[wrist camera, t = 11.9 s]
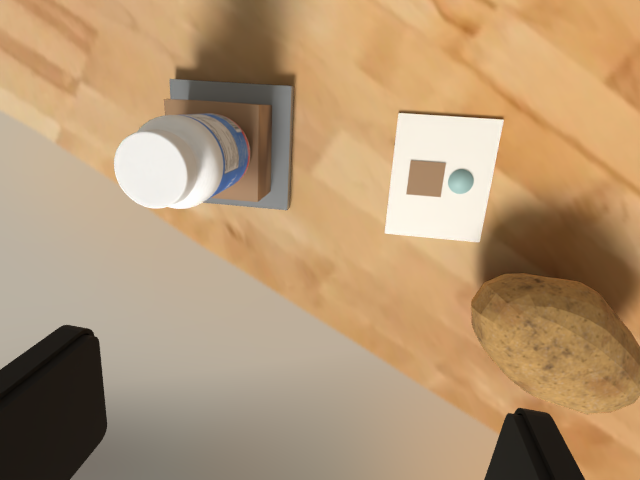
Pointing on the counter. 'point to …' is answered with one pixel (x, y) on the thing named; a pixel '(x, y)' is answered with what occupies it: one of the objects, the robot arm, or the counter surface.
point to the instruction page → (441, 176)
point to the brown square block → (258, 134)
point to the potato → (558, 341)
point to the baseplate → (281, 128)
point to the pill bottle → (181, 160)
